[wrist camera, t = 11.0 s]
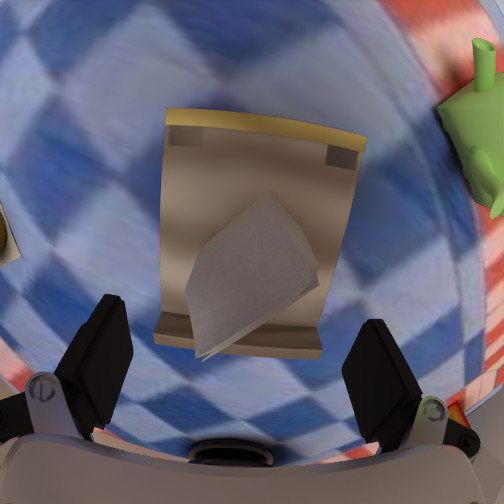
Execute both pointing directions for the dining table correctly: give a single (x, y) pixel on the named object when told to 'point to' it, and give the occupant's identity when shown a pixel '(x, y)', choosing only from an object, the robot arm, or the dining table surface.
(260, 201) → the small white carton
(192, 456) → the amphora vase
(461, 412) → the baking soda box
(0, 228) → the condiment
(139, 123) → the dining table surface
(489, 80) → the kettle
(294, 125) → the dock
